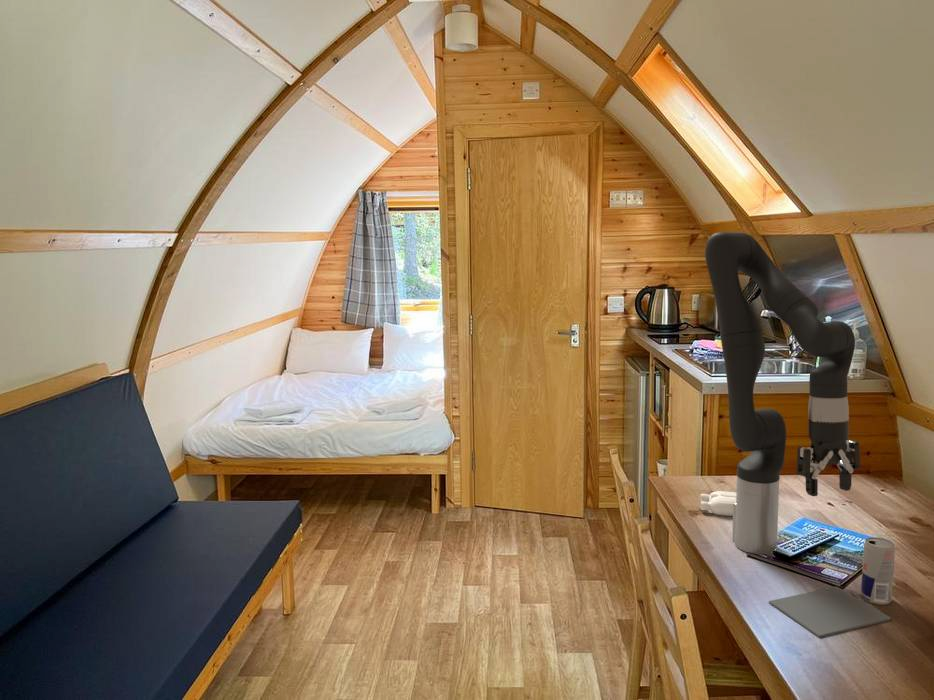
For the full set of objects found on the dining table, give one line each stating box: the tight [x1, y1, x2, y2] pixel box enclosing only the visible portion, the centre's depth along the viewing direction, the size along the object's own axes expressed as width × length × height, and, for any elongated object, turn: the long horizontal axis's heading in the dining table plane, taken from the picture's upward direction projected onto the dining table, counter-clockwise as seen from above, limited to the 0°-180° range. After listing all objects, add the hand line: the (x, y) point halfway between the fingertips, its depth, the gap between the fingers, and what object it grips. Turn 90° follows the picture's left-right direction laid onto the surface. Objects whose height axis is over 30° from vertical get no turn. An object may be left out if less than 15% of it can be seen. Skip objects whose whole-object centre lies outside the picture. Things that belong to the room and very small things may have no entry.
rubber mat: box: [768, 586, 892, 638], centre depth 135 cm, size 13×17×1 cm
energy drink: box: [860, 536, 896, 606], centre depth 138 cm, size 5×5×12 cm
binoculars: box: [700, 490, 736, 517], centre depth 185 cm, size 10×16×5 cm, turn 72°
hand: (828, 492), depth 145 cm, fingers open, 8 cm apart
